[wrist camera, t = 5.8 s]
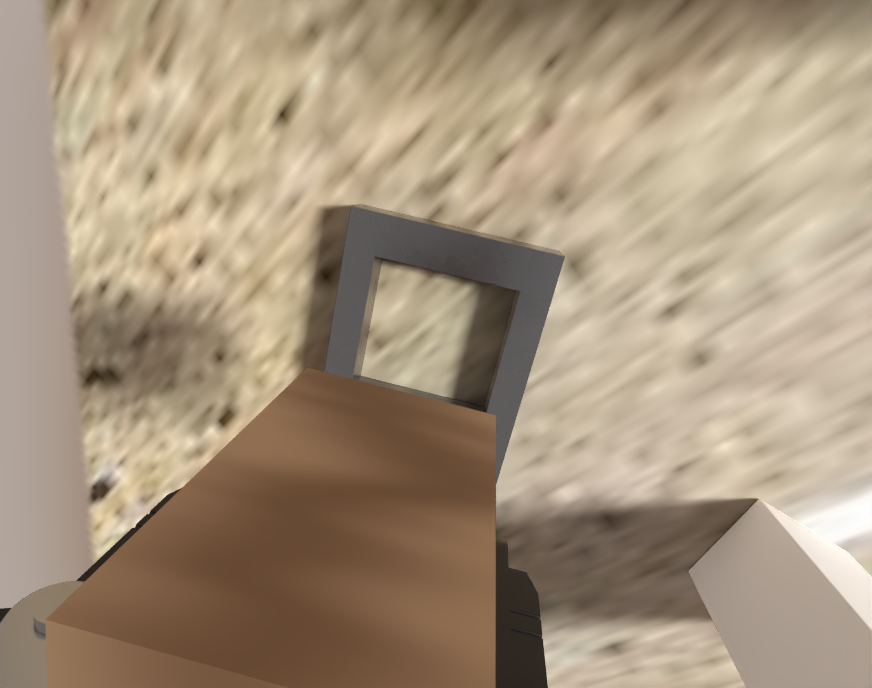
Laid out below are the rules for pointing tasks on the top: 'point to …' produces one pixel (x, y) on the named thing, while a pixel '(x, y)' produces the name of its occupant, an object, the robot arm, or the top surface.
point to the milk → (788, 604)
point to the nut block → (306, 557)
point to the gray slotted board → (455, 255)
